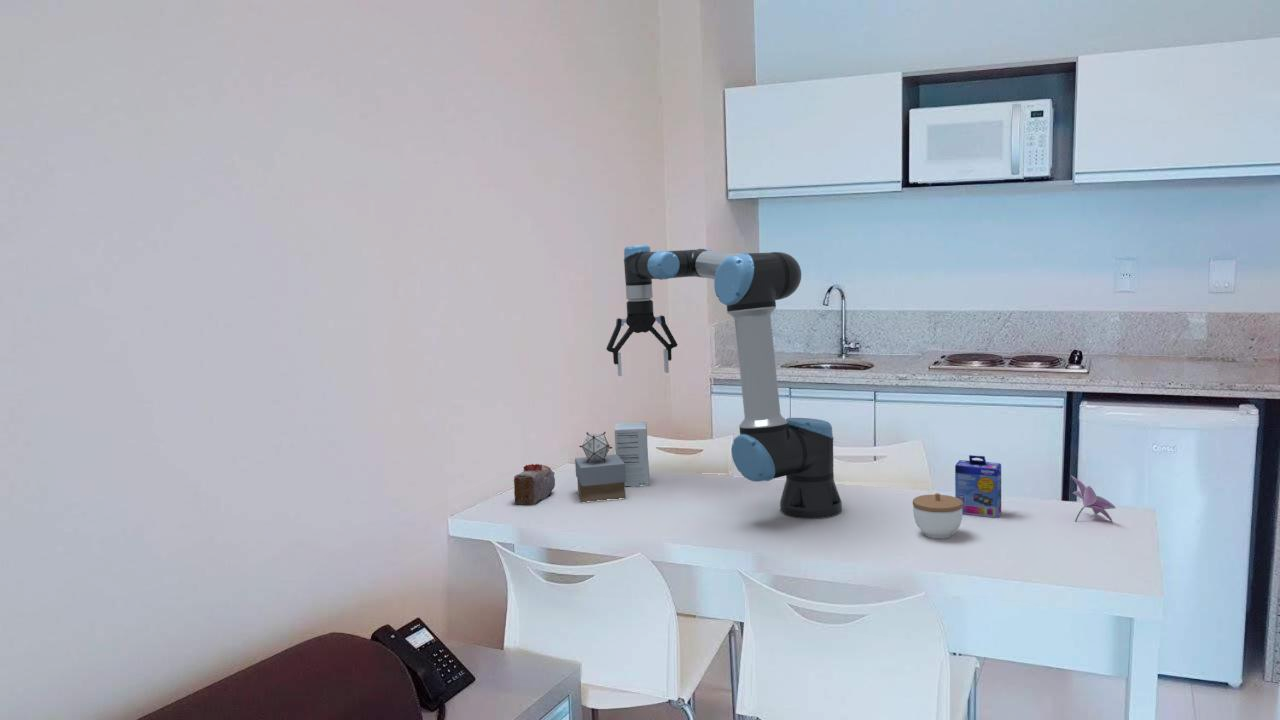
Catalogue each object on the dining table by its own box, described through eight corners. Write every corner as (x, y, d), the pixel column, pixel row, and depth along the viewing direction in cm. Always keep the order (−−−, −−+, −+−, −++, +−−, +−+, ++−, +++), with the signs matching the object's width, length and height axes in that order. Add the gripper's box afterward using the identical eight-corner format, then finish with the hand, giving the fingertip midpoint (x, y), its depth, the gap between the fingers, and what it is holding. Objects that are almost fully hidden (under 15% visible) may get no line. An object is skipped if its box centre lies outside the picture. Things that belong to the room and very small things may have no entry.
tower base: (625, 500, 246) (624, 482, 245) (581, 504, 245) (580, 486, 244) (620, 489, 258) (619, 471, 257) (578, 492, 256) (577, 475, 256)
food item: (531, 491, 259) (529, 457, 258) (557, 492, 257) (555, 458, 255) (512, 505, 246) (509, 469, 245) (539, 506, 244) (537, 470, 242)
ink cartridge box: (954, 514, 219) (953, 455, 217) (959, 507, 224) (958, 450, 222) (997, 518, 214) (997, 458, 212) (1001, 512, 219) (1001, 453, 217)
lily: (1115, 535, 202) (1131, 495, 202) (1061, 512, 205) (1077, 473, 205) (1099, 535, 213) (1114, 497, 214) (1049, 513, 216) (1064, 476, 217)
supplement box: (618, 479, 268) (615, 422, 266) (649, 477, 268) (646, 421, 265) (617, 487, 258) (613, 429, 256) (649, 486, 258) (646, 427, 256)
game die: (602, 472, 252) (621, 441, 253) (597, 469, 243) (617, 437, 245) (575, 456, 254) (594, 425, 255) (569, 452, 245) (589, 421, 247)
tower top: (626, 481, 246) (625, 463, 245) (582, 486, 244) (581, 468, 243) (618, 471, 258) (617, 454, 257) (576, 475, 255) (575, 458, 255)
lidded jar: (909, 527, 211) (908, 487, 210) (957, 526, 209) (956, 486, 208) (918, 542, 200) (917, 500, 199) (968, 541, 199) (968, 500, 198)
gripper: (679, 296, 264) (683, 369, 267) (594, 301, 261) (598, 375, 263) (685, 297, 257) (688, 372, 260) (597, 303, 253) (601, 378, 256)
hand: (643, 374), depth 261 cm, fingers open, 13 cm apart
